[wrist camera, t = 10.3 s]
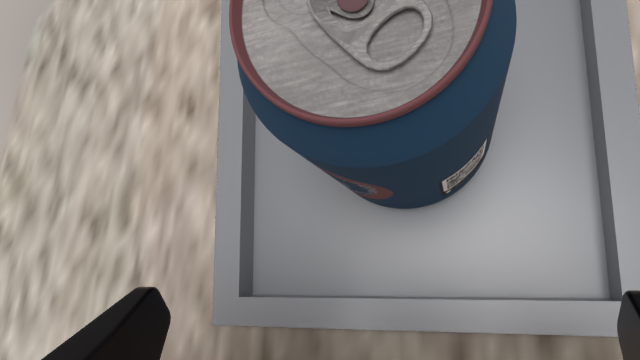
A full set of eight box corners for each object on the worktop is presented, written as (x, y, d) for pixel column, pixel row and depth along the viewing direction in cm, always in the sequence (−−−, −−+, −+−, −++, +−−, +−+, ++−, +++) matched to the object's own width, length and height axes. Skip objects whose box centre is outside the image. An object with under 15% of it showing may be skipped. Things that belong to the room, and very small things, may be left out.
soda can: (301, 135, 23) (149, 11, 12) (410, 29, 23) (360, -210, 11) (404, 245, 21) (340, 224, 10) (527, 132, 21) (611, -33, 9)
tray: (640, 329, 19) (666, 338, 17) (237, 319, 24) (212, 325, 21) (596, -66, 22) (613, -106, 20) (244, -9, 26) (223, -36, 24)
